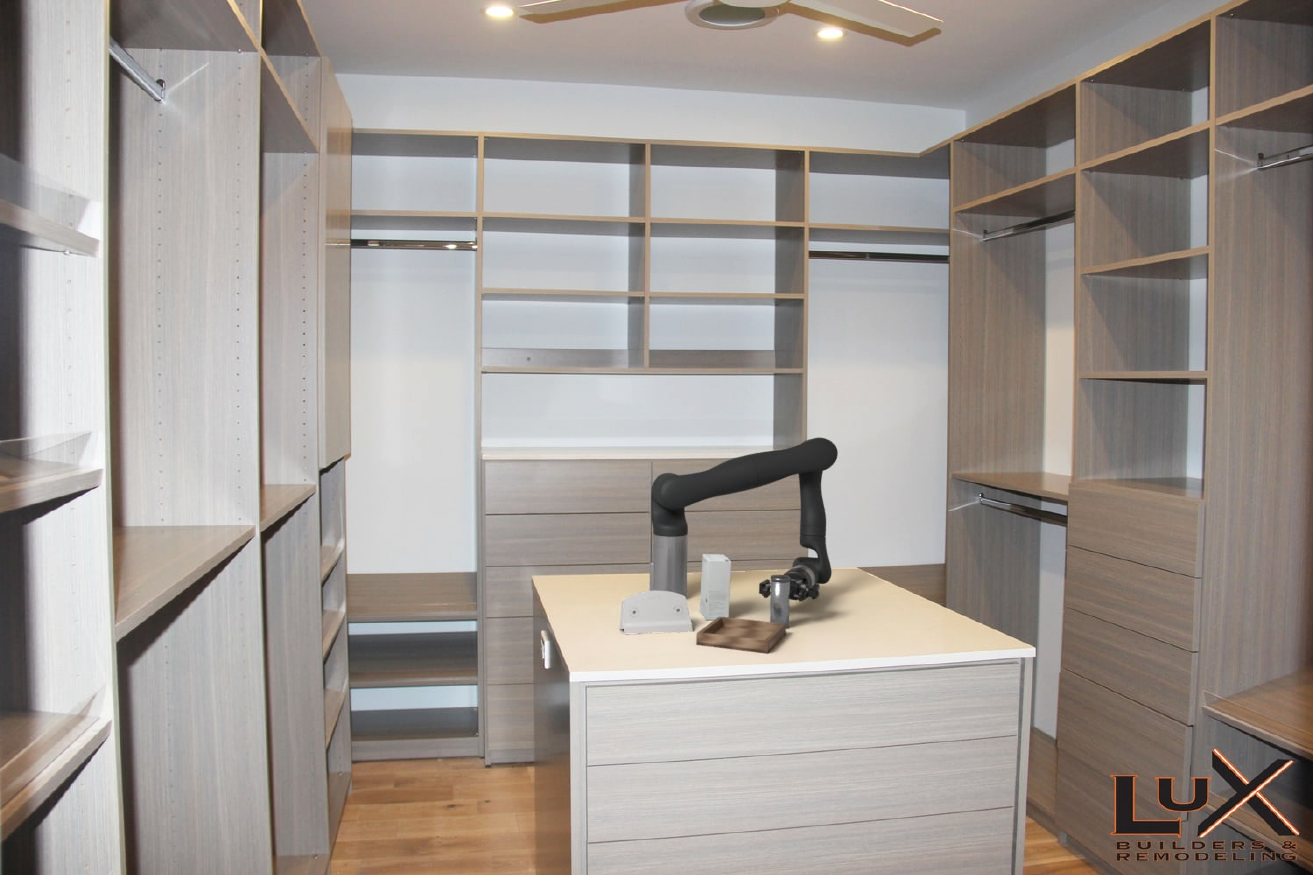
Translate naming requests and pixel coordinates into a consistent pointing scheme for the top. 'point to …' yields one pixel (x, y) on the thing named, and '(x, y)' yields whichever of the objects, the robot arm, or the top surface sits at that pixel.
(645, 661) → the top surface
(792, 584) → the robot arm
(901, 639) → the top surface
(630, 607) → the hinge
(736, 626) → the walnut tray
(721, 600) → the skincare box
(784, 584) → the steel canister
